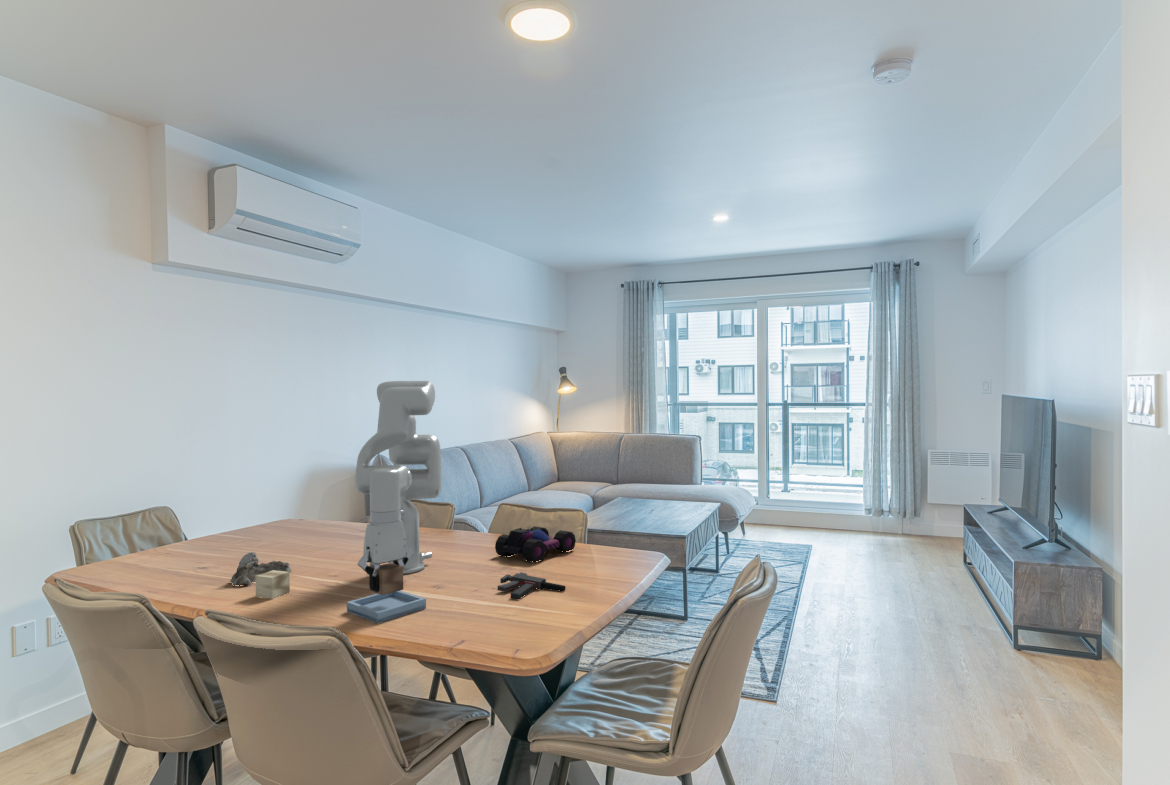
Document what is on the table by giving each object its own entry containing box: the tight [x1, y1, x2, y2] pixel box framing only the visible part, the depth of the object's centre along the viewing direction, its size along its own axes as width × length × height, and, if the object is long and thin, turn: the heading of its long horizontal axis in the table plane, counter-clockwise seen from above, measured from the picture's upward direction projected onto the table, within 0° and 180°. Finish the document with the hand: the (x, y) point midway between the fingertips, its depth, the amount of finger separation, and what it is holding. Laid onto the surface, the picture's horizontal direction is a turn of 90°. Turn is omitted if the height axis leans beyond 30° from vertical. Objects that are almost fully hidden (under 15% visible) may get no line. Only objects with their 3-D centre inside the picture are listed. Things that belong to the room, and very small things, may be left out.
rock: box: [229, 551, 292, 587], centre depth 197 cm, size 18×11×10 cm, turn 144°
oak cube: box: [255, 570, 291, 600], centre depth 180 cm, size 6×6×6 cm
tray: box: [346, 590, 427, 624], centre depth 165 cm, size 14×14×2 cm
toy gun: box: [497, 571, 566, 600], centre depth 179 cm, size 3×19×15 cm
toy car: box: [494, 525, 576, 563], centre depth 222 cm, size 17×25×10 cm, turn 142°
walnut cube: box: [368, 562, 404, 595], centre depth 165 cm, size 6×6×6 cm
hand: (386, 586), depth 165 cm, fingers closed on walnut cube, 6 cm apart
